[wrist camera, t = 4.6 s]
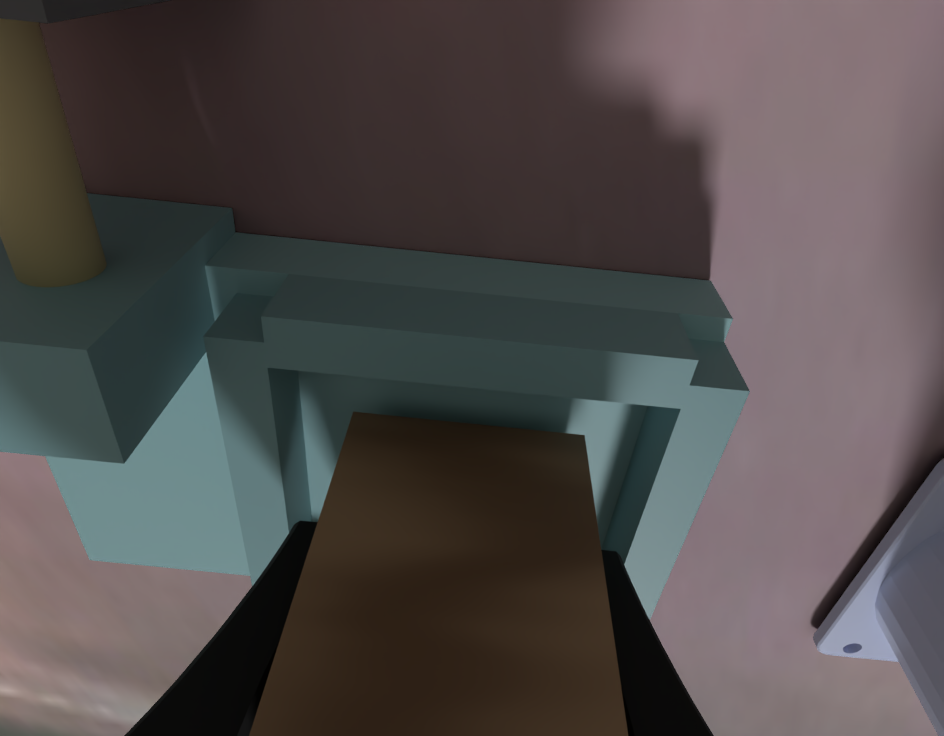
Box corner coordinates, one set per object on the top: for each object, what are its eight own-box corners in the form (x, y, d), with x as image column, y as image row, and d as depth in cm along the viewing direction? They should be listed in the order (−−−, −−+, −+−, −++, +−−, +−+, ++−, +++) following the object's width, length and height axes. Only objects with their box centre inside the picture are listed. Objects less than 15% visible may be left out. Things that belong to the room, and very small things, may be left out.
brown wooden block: (584, 435, 12) (635, 786, 7) (547, 575, 15) (565, 901, 10) (352, 411, 12) (244, 749, 7) (357, 556, 15) (281, 875, 10)
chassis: (890, -239, 8) (1292, -422, 4) (612, 564, 17) (643, 756, 13) (-196, -357, 8) (-968, -677, 4) (119, 515, 17) (-2, 694, 13)
